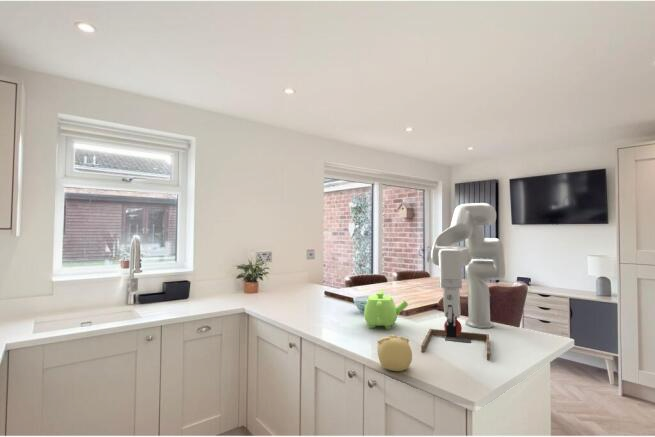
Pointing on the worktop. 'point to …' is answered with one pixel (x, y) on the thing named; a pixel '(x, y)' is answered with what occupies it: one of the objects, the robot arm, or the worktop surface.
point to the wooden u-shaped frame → (457, 338)
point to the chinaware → (361, 302)
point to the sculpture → (394, 353)
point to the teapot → (382, 310)
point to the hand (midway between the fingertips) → (452, 333)
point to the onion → (458, 327)
